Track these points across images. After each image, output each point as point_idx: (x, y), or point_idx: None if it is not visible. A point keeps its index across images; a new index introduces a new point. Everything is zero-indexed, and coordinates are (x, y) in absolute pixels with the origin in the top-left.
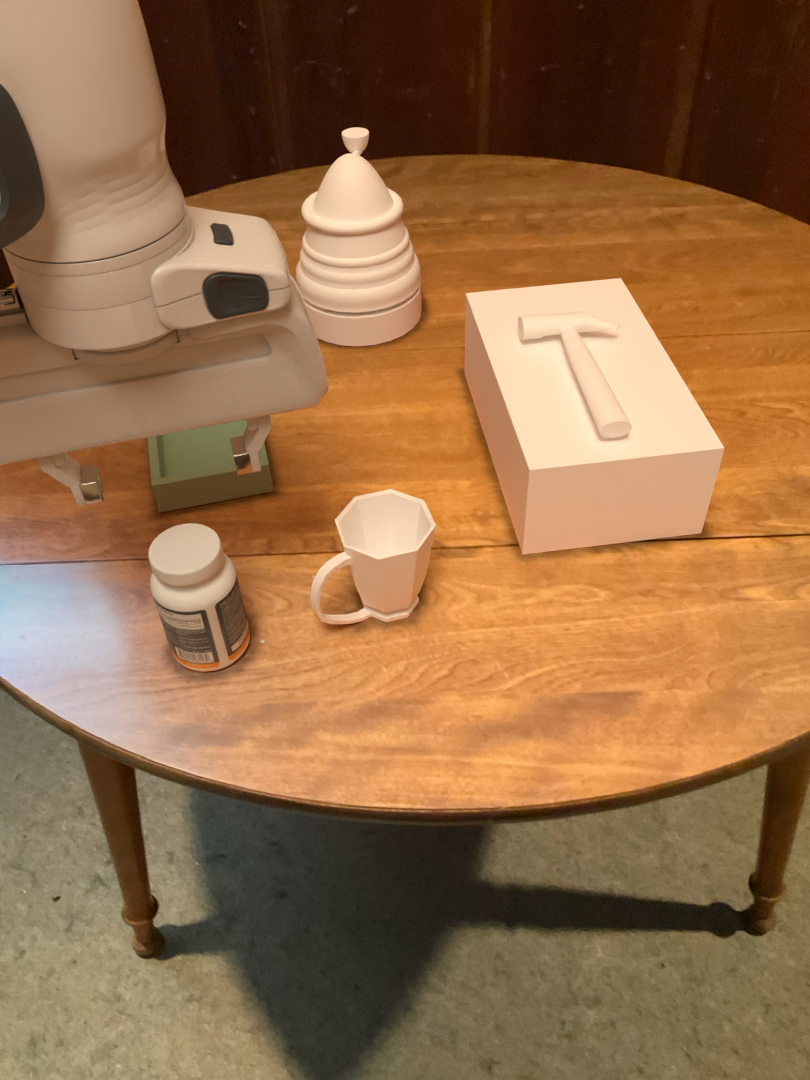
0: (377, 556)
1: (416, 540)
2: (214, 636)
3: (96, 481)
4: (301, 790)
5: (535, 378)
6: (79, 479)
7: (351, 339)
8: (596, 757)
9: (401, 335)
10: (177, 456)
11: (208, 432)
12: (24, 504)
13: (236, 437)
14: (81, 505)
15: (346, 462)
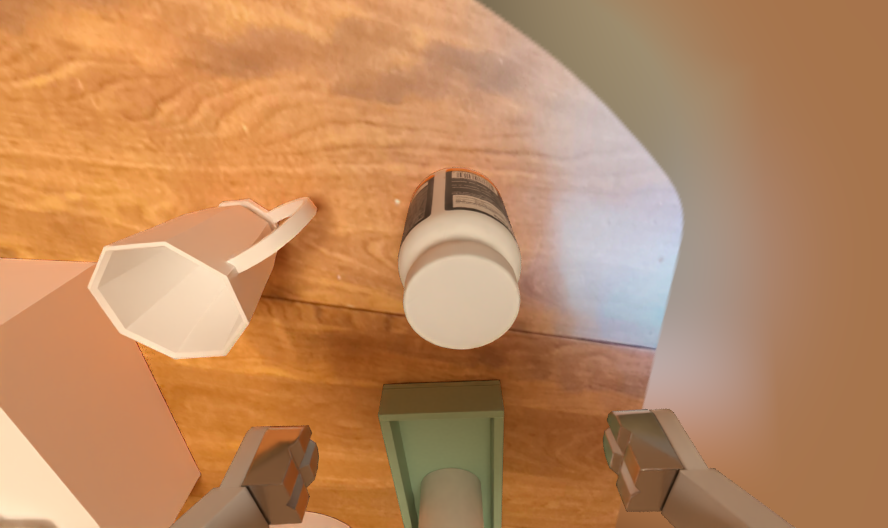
0: (166, 246)
1: (173, 285)
2: (443, 188)
3: (633, 469)
4: None
5: (12, 479)
6: (681, 484)
7: (309, 519)
8: None
9: None
10: (476, 435)
11: (445, 453)
12: (627, 409)
13: (284, 523)
14: (662, 409)
15: (310, 403)
